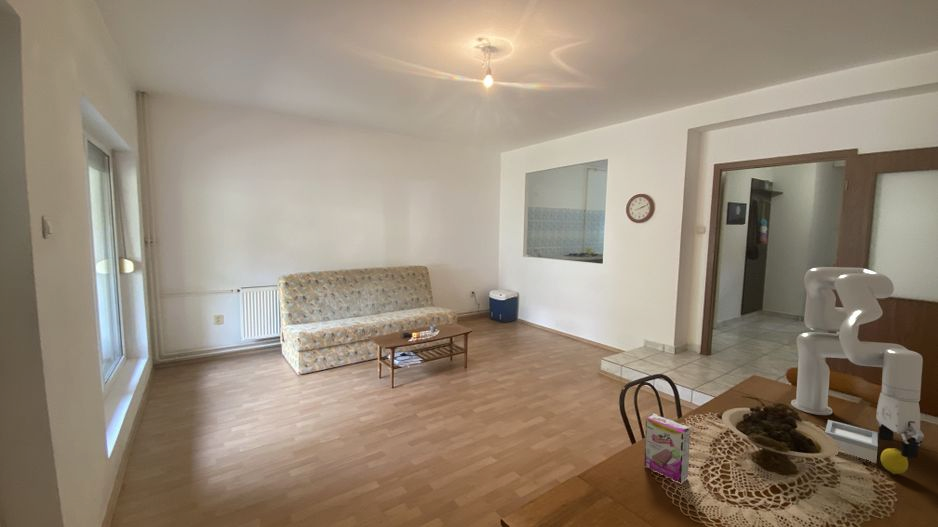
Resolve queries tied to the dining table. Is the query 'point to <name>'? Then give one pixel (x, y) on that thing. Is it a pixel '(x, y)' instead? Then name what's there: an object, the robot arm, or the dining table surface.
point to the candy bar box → (667, 447)
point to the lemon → (894, 461)
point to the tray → (854, 440)
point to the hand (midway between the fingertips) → (896, 448)
